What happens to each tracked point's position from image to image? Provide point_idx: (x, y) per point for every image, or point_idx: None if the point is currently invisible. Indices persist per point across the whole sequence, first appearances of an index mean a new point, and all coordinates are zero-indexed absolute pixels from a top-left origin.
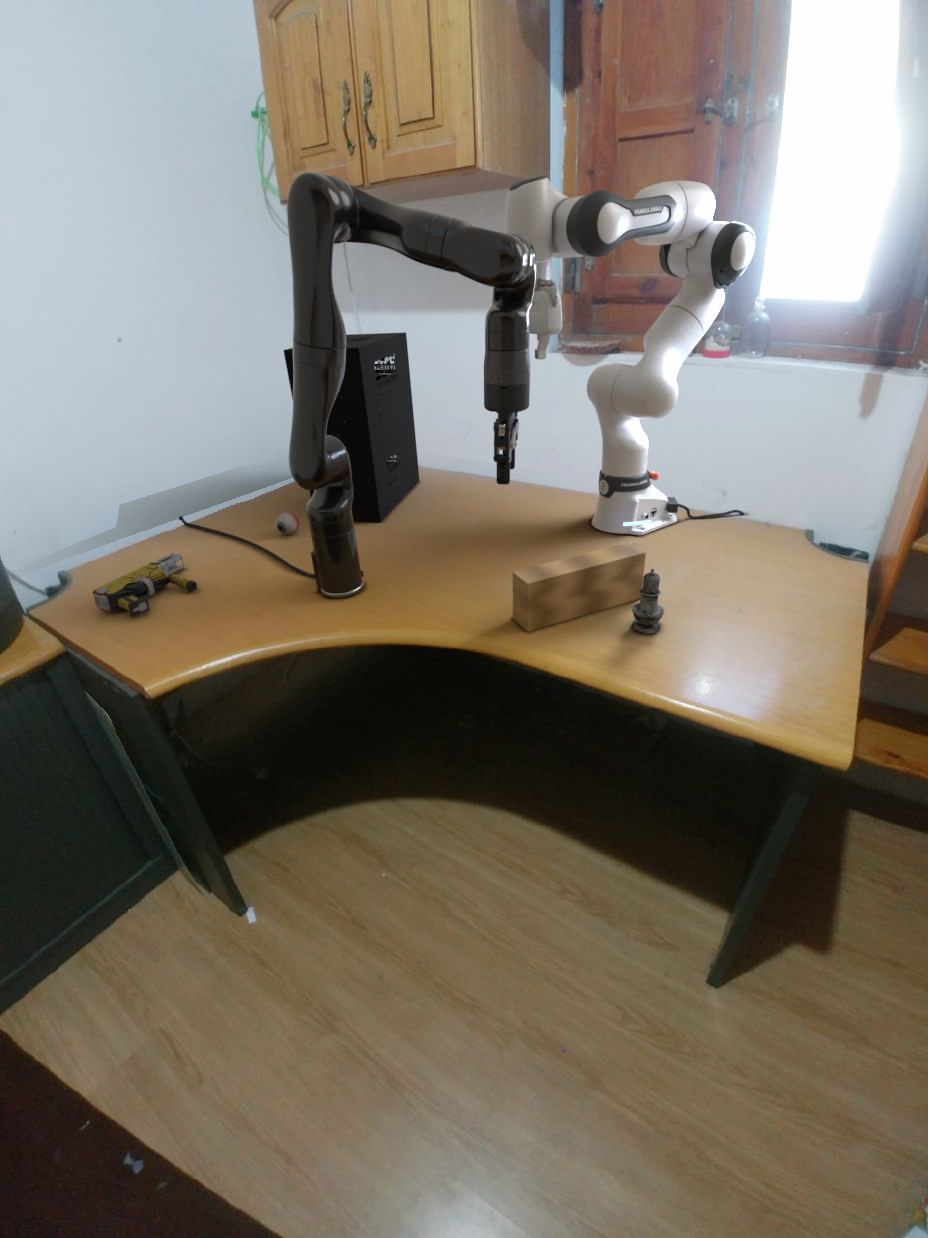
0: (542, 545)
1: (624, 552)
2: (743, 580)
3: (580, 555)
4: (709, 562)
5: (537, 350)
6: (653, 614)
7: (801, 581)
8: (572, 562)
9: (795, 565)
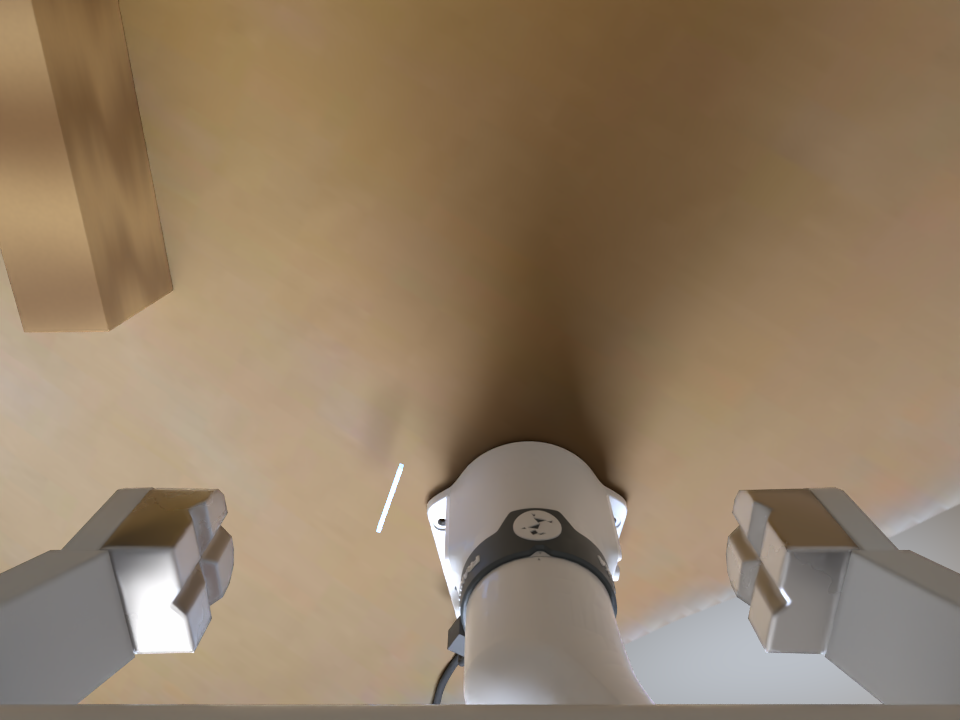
0: (512, 252)
1: (41, 281)
2: None
3: (59, 153)
4: None
5: (90, 542)
6: None
7: None
8: (14, 99)
9: None
